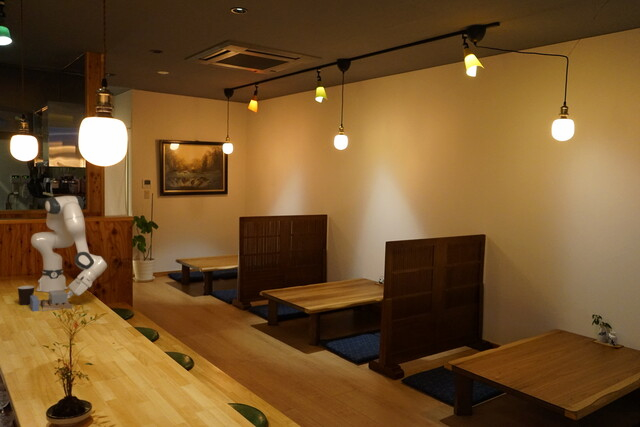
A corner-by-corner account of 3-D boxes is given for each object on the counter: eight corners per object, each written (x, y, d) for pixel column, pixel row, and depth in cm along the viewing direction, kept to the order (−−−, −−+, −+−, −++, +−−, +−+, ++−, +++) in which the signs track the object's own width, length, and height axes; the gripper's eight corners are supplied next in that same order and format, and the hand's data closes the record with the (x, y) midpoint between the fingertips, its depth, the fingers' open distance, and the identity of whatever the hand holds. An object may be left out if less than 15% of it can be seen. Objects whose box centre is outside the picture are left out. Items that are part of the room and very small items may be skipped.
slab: (48, 299, 297) (48, 291, 297) (63, 298, 302) (63, 289, 301) (51, 303, 287) (52, 295, 287) (67, 302, 292) (67, 293, 292)
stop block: (29, 305, 292) (30, 295, 292) (35, 305, 294) (35, 295, 294) (32, 311, 281) (32, 300, 281) (38, 310, 283) (39, 300, 282)
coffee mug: (28, 306, 292) (28, 289, 291) (14, 305, 292) (14, 288, 291) (40, 301, 303) (40, 285, 303) (26, 300, 303) (26, 284, 303)
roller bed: (38, 304, 297) (38, 299, 296) (66, 301, 305) (66, 296, 305) (42, 311, 282) (42, 305, 282) (72, 308, 291) (72, 303, 291)
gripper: (77, 273, 309) (59, 290, 304) (84, 279, 293) (65, 297, 288) (85, 279, 312) (67, 296, 307) (92, 286, 296) (74, 304, 290)
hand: (66, 297), depth 297 cm, fingers closed
